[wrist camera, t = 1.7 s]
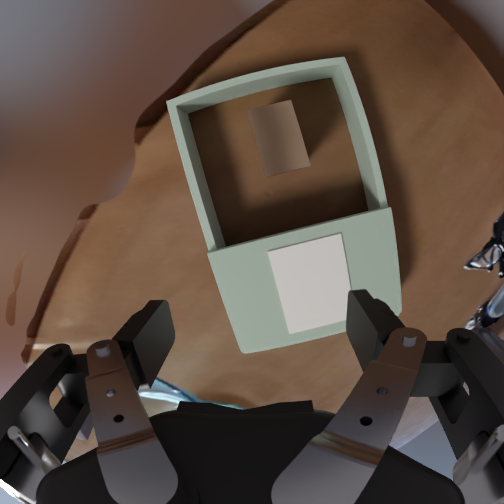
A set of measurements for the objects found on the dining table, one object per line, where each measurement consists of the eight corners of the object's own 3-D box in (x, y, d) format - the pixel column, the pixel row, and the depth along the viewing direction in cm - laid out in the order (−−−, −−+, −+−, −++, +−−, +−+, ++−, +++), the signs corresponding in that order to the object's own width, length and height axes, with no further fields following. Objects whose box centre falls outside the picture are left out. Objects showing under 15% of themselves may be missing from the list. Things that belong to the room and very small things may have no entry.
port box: (335, 70, 30) (347, 53, 24) (386, 299, 38) (402, 319, 32) (179, 110, 33) (162, 99, 27) (247, 334, 41) (243, 359, 35)
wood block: (286, 117, 33) (290, 99, 24) (300, 168, 34) (310, 165, 26) (252, 126, 33) (246, 110, 25) (267, 176, 35) (265, 176, 26)
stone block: (102, 418, 52) (86, 445, 42) (87, 412, 52) (70, 437, 42) (91, 386, 48) (70, 414, 39) (75, 379, 48) (53, 405, 39)
